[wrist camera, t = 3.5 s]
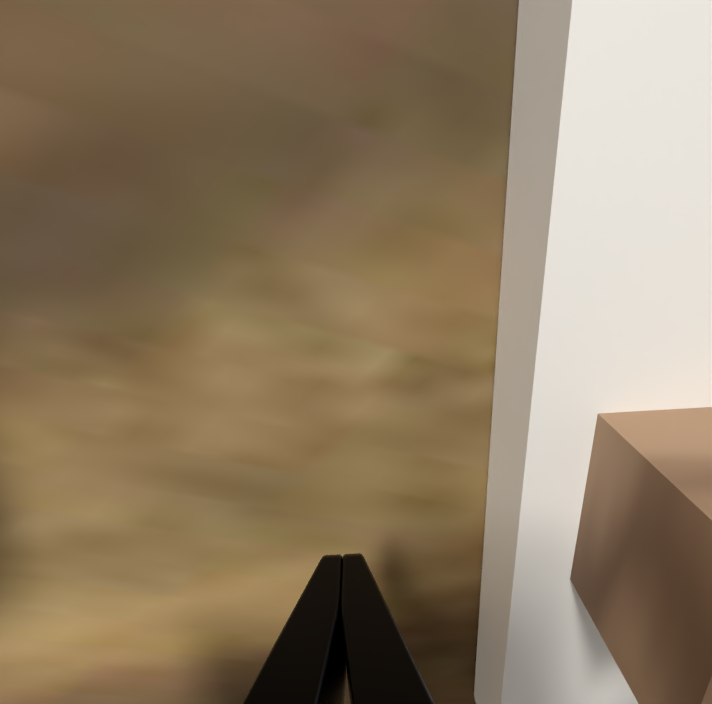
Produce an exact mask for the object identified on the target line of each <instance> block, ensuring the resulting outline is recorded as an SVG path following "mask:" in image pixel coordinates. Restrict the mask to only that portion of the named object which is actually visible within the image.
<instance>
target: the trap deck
mask: <svg viewBox="0 0 712 704" xmlns="http://www.w3.org/2000/svg"><path fill="white" fill-rule="evenodd" d="M702 407H712V0H519V8H518V23H517V39H516V54H515V69H514V85H513V100H512V115H511V131H510V146H509V162H508V177H507V192H506V208H505V223H504V238H503V254H502V269H501V285H500V300H499V315H498V331H497V346H496V361H495V377H494V392H493V408H492V423H491V438H490V454H489V469H488V485H487V500H486V515H485V531H484V546H483V561H482V577H481V592H480V608H479V623H478V638H477V654H476V669H475V684H474V698H475V702H476V704H638V702H637V700H636V698H635V696H634V694H633V693H632V691H631V689H630V687H629V685H628V684H627V682H626V680H625V678H624V676H623V675H622V673H621V671H620V669H619V667H618V666H617V664H616V662H615V660H614V658H613V656H612V655H611V653H610V651H609V649H608V647H607V646H606V644H605V642H604V640H603V638H602V637H601V635H600V633H599V631H598V629H597V627H596V626H595V624H594V622H593V620H592V618H591V617H590V615H589V613H588V611H587V609H586V608H585V606H584V604H583V602H582V600H581V598H580V597H579V595H578V593H577V591H576V589H575V588H574V586H573V584H572V582H571V580H570V576H571V570H572V564H573V558H574V552H575V546H576V540H577V534H578V528H579V522H580V516H581V510H582V504H583V499H584V493H585V487H586V481H587V475H588V469H589V463H590V457H591V451H592V445H593V439H594V433H595V427H596V421H597V415H598V413H615V412H632V411H650V410H667V409H685V408H702Z"/></svg>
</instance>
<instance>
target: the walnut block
mask: <svg viewBox="0 0 712 704" xmlns="http://www.w3.org/2000/svg"><path fill="white" fill-rule="evenodd" d="M570 580H571V582H572V584H573V586H574V588H575V589H576V591H577V593H578V595H579V597H580V598H581V600H582V602H583V604H584V606H585V608H586V609H587V611H588V613H589V615H590V617H591V618H592V620H593V622H594V624H595V626H596V627H597V629H598V631H599V633H600V635H601V637H602V638H603V640H604V642H605V644H606V646H607V647H608V649H609V651H610V653H611V655H612V656H613V658H614V660H615V662H616V664H617V666H618V667H619V669H620V671H621V673H622V675H623V676H624V678H625V680H626V682H627V684H628V685H629V687H630V689H631V691H632V693H633V694H634V696H635V698H636V700H637V702H638V704H712V407H702V408H685V409H667V410H650V411H632V412H615V413H598V415H597V421H596V427H595V433H594V439H593V445H592V451H591V457H590V463H589V469H588V475H587V481H586V487H585V493H584V499H583V504H582V510H581V516H580V522H579V528H578V534H577V540H576V546H575V552H574V558H573V564H572V570H571V576H570Z"/></svg>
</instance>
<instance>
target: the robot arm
mask: <svg viewBox="0 0 712 704" xmlns="http://www.w3.org/2000/svg"><path fill="white" fill-rule="evenodd" d="M346 667H347V677H348V687H349V696H350V704H434V702H433V699H432V697H431V695H430V693H429V691H428V689H427V687H426V685H425V683H424V681H423V679H422V677H421V675H420V673H419V670H418V668H417V666H416V664H415V662H414V660H413V658H412V656H411V654H410V652H409V650H408V648H407V646H406V644H405V642H404V639H403V637H402V635H401V633H400V631H399V629H398V627H397V625H396V623H395V621H394V619H393V617H392V615H391V613H390V610H389V608H388V606H387V604H386V602H385V600H384V598H383V596H382V594H381V592H380V590H379V588H378V586H377V584H376V581H375V579H374V577H373V575H372V573H371V571H370V569H369V567H368V565H367V563H366V561H365V559H364V557H363V555H362V554H345V555H344V556H343V558H342V556H341V555H325V556H323V557H322V559H321V560H320V562H319V564H318V566H317V567H316V569H315V571H314V573H313V575H312V577H311V578H310V580H309V582H308V584H307V586H306V588H305V589H304V591H303V593H302V595H301V597H300V599H299V600H298V602H297V604H296V606H295V608H294V610H293V611H292V613H291V615H290V617H289V619H288V621H287V622H286V624H285V626H284V628H283V630H282V632H281V633H280V635H279V637H278V639H277V641H276V643H275V644H274V646H273V648H272V650H271V652H270V654H269V655H268V657H267V659H266V661H265V663H264V665H263V666H262V668H261V670H260V672H259V674H258V676H257V677H256V679H255V681H254V683H253V685H252V687H251V688H250V690H249V692H248V694H247V696H246V698H245V699H244V701H243V703H242V704H344V696H345V684H346Z"/></svg>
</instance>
